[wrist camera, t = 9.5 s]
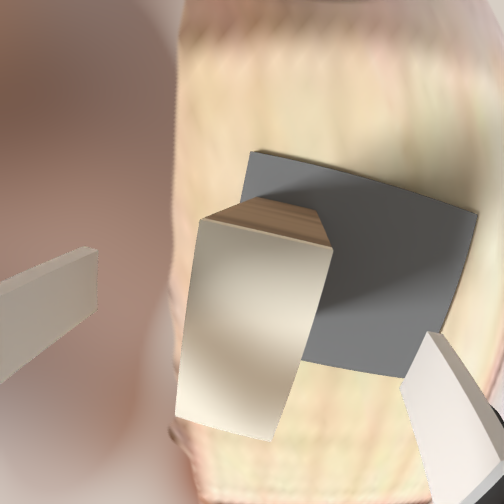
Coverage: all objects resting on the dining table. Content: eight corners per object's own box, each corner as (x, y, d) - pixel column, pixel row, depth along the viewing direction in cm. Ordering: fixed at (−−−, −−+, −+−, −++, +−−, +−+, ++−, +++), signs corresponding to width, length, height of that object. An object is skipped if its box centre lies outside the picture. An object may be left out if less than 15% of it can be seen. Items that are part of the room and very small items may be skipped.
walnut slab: (256, 196, 21) (199, 219, 9) (315, 210, 21) (333, 250, 9) (234, 306, 23) (174, 415, 11) (288, 319, 23) (271, 442, 11)
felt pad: (252, 152, 21) (250, 151, 20) (473, 213, 19) (477, 214, 19) (216, 335, 24) (214, 338, 24) (414, 376, 23) (416, 379, 22)
